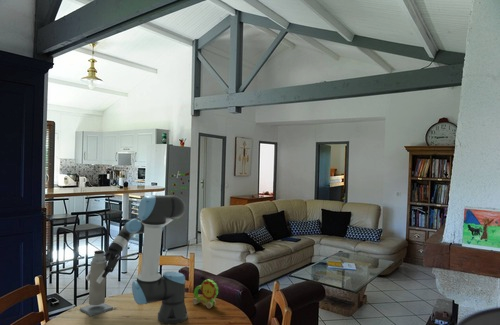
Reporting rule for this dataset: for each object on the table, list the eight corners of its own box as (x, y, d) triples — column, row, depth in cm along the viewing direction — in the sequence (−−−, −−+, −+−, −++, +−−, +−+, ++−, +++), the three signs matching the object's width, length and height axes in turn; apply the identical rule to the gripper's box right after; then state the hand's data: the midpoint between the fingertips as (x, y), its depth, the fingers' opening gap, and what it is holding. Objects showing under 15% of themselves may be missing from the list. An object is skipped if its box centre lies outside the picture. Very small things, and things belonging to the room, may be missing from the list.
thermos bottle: (93, 299, 189) (96, 249, 190) (107, 300, 189) (109, 249, 190) (85, 304, 181) (88, 252, 182) (99, 305, 181) (102, 253, 182)
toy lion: (191, 304, 197) (192, 277, 197) (197, 301, 202) (198, 275, 202) (214, 310, 189) (215, 282, 190) (219, 307, 194) (220, 280, 194)
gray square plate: (112, 309, 186) (112, 307, 186) (91, 316, 176) (91, 313, 176) (100, 303, 193) (101, 301, 193) (79, 310, 183) (80, 307, 183)
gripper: (134, 251, 195) (109, 288, 180) (108, 247, 204) (83, 281, 189) (127, 244, 190) (101, 280, 175) (101, 239, 200) (75, 274, 185)
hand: (92, 280), depth 182 cm, fingers closed on thermos bottle, 8 cm apart
